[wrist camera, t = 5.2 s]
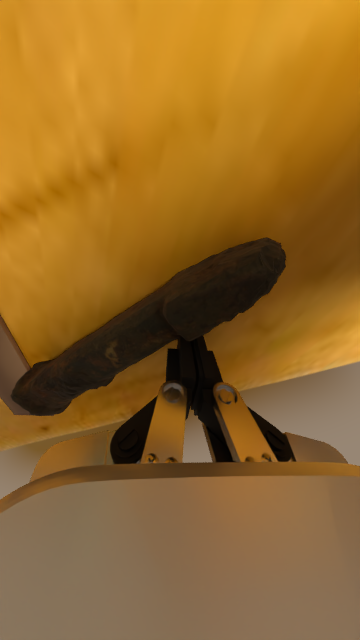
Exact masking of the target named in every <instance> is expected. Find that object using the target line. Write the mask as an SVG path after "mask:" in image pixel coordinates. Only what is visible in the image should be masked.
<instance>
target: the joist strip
mask: <svg viewBox="0 0 360 640" xmlns="http://www.w3.org/2000/svg"><path fill="white" fill-rule="evenodd" d="M29 370H30V367H29V365H28V363H27V362H26V360H25V358H24V356H23V354H22V353H21V351H20V349H19V347H18V346H17V344H16V342H15V340H14V338H13V337H12V335H11V333H10V331H9V330H8V328H7V326H6V324H5V322H4V321H3V319H2V317H1V315H0V398H1V399H2V400H3V401H4V402H5V404H6V405H7V406H8V407H9V408H10V410H11V411H12V412H13V413H14V415H30V413H29V411H27V410H25V409H23V408H22V407H21V406H20V405H18V404H17V403H15V402H14V401H12V398H11V396H10V395H11V394H12V390H13V389H14V387H15V385H16V382H17V381H18V380H19V379H20V378H21V377H22V376H23V375H24V374H25V373H26V372H27V371H29ZM46 416H54V415H46Z"/></svg>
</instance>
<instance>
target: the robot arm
mask: <svg viewBox="0 0 360 640" xmlns="http://www.w3.org/2000/svg"><path fill="white" fill-rule="evenodd" d="M190 406H191V410H194V415H198V419H199V420H200V421H202V426H203V429H204V433H205V437H206V440H207V444H208V447H209V451H210V455H211V458H212V463H182V458H183V444H184V431H185V420H186V419H187V418H188V414H189V409H190ZM0 640H360V466H357V465H352V464H348V462H347V461H346V460H345V458H344V457H343V456H342V455H341V454H340V453H339V452H338V451H337V450H336V449H335V448H334V447H332V446H330V445H329V444H327V443H324V442H321V441H317V440H314V439H310V438H306V437H302V436H299V435H295V434H291V433H287V432H285V433H281V432H280V431H279V430H278V429H277V428H276V427H274V426H273V425H272V424H270V423H269V422H267V421H266V420H265V419H263V418H262V417H261V416H260V415H258V414H257V413H256V412H254V411H253V410H251V409H250V408H249V407H247V406H246V404H245V403H244V401H243V399H242V397H241V396H240V394H239V392H238V391H237V389H236V388H234V387H233V386H232V385H230V384H228V383H225V382H223V380H222V377H221V374H220V371H219V368H218V365H217V362H216V359H215V357H214V354H213V352H212V351H207V347H206V344H205V340H204V337H203V335H202V336H200V337H198V338H196V339H194V340H192V341H186V340H185V339H184V338H183V337H181V338H179V339H178V345H177V349H168V354H167V367H166V382H165V383H164V384H163V385H162V386H161V388H160V390H159V394H158V396H157V397H155V398H154V399H153V400H152V401H151V402H149V403H148V404H147V405H146V406H145V407H143V408H142V409H141V410H140V411H139V412H137V413H136V414H135V415H134V416H133V417H131V418H130V419H129V420H128V421H127V422H126V423H124V424H123V425H122V426H121V427H120V428H119V429H118V430H115V431H112V432H108V431H104V432H99V433H95V434H91V435H87V436H83V437H79V438H75V439H71V440H67V441H63V442H60V443H58V444H55V445H54V446H52V447H51V448H49V449H48V450H47V451H46V452H45V453H44V454H43V455H42V457H41V458H40V459H39V461H38V463H37V465H36V467H35V469H34V472H33V474H32V477H31V479H30V482H29V483H28V484H26V485H24V486H22V487H20V488H18V489H17V490H15V491H13V492H12V493H10V494H8V495H7V496H5V497H3V498H2V499H1V500H0Z"/></svg>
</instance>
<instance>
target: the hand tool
mask: <svg viewBox="0 0 360 640" xmlns="http://www.w3.org/2000/svg"><path fill="white" fill-rule="evenodd" d="M285 258H286V255H285V252H284V250H283V249H282V248H281V243H277V242H276V241H274V240H271V239H270V238H263V239H259V240H256V241H251V242H248V243H245V244H241V245H238V246H236V247H233V248H229V249H227V250H225V251H223V252H221V253H219V254H216V255H212V256H210V257H208V258H207V259H205V260H203V261H202V262H200V263H198V264H196V265H193V266H191V267H189V268H187V269H185V270H183V271H181V272H178V273H177V274H176V275H175V276H174V277H173V278H172V279H171V280H170V282H168V283H166V284H165V285H164V286H163V287H162V288H160V289H158V290H157V291H155V292H154V293H152V294H151V295H149V296H148V297H146V298H145V299H143V300H141V301H140V302H138V303H136V304H135V305H133V306H132V307H131V308H129V309H128V310H126V311H125V312H123V313H121V314H120V315H118V316H116V317H115V318H113V319H112V320H111V321H109V322H108V323H107V324H106V325H105V326H103V327H101V328H100V329H98V330H97V331H96V332H94V333H92V334H90V335H88V336H87V337H85V338H83V339H82V340H80V341H78V342H77V343H75V344H74V345H73V346H72V347H71V348H69V349H68V350H66V351H65V352H64V353H63V354H62V355H60V356H59V357H57V358H56V359H55V360H53V361H52V360H48V361H45V362H39V363H36V364H34V366H33V368H31V369H30V370H29V371H27V372H26V373H25V374H24V375H23V376H22V377H21V378H20V379H19V380H18V381H17V382H16V385H15V387H14V389H13V390H12V394H11V395H10V396H11V398H12V401H14V402H15V403H17V404H18V405H20V406H21V407H22V408H23V409H25V410H27V411H29V413H30V415H36V416H46V415H54V414H59V413H61V412H63V411H64V410H65V409H66V408H67V407H68V406H69V404H70V403H71V400H72V399H74V398H76V397H77V396H79V395H81V394H82V393H84V392H85V391H87V390H89V389H97V388H98V387H100V386H107V385H108V384H109V383H110V382H111V381H112V380H113V378H114V377H115V375H116V374H118V373H119V372H121V371H123V370H124V369H126V368H127V367H129V366H131V365H133V364H135V363H137V362H138V361H140V360H142V359H143V358H145V357H147V356H149V355H150V354H152V353H154V352H155V351H157V350H158V349H160V348H162V347H163V346H165V345H166V344H168V343H170V342H171V341H173V340H176V339H179V338H181V337H183V338H184V339H185V340H186V341H192V340H194V339H196V338H198V337H200V336H202V335H204V334H206V333H208V332H210V331H211V330H212V329H213V328H214V327H216V326H217V325H219V324H221V323H222V322H226V321H231V320H232V319H233V318H234V317H235V316H236V315H237V314H238V313H243V312H245V311H246V310H248V309H249V308H250V307H252V306H253V305H254V303H255V302H256V301H257V300H258V299H260V298H261V297H262V296H264V295H266V294H268V293H269V292H270V290H271V289H272V287H273V286H274V284H275V283H276V282H277V279H278V277H279V276H280V275H281V273H282V272H283V270H284V268H285V267H286V265H285V260H286V259H285Z"/></svg>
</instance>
